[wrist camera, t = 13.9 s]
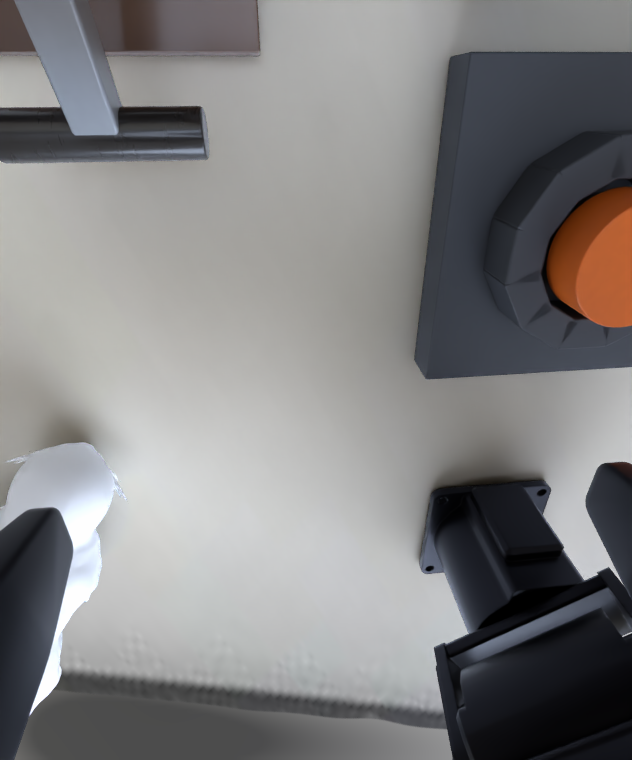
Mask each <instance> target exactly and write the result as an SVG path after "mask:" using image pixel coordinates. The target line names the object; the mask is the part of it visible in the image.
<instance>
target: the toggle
mask: <svg viewBox="0 0 632 760" xmlns="http://www.w3.org/2000/svg"><path fill="white" fill-rule="evenodd" d="M14 1H15V4H16V6H17V8H18V10H19V13H20V15H21V17H22V20H23V22H24V24H25V26H26V29H27V31H28V33H29V35H30V38H31V40H32V42H33V45H34V47H35V49H36V51H37V54H38V56H39V58H40V61H41V63H42V65H43V67H44V70H45V72H46V74H47V76H48V79H49V81H50V83H51V86H52V88H53V90H54V92H55V95H56V97H57V99H58V101H59V104H60V106H61V107H11V108H0V161H1V162H3V163H7V164H8V163H65V162H123V161H180V160H207V159H208V158H209V139H208V129H207V122H206V116H205V112H204V109H203V107H201V106H146V107H122V105H121V101H120V98H119V95H118V92H117V89H116V86H115V83H114V80H113V77H112V73H111V70H110V67H109V64H108V61H107V58H106V55H105V52H104V49H103V45H102V42H101V39H100V36H99V33H98V30H97V27H96V24H95V21H94V17H93V14H92V11H91V8H90V5H89V2H88V0H14Z"/></svg>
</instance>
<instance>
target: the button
mask: <svg viewBox="0 0 632 760" xmlns="http://www.w3.org/2000/svg"><path fill="white" fill-rule="evenodd" d="M546 271H547V279H548V283H549V285H550V288H551V290H552V291H553V293H554V294H555V295H556V297H557V298H558V299H560V300H561V301H562V302H564V303H565V304H567V305H568V306H570V307H571V308H573V309H574V310H576V311H577V312H579V313H580V314H582V315H583V316H585V317H586V318H588V319H589V320H591V321H593V322H595V323H597V324H599V325H602V326H606V327H627V326H632V187H618V188H613V189H610V190H607V191H604V192H601V193H599V194H597V195H595V196H593V197H592V198H590V199H589V200H587V201H585V202H584V203H583V204H582V205H580V206H579V207H578V208H577V209H576V210H575V211H573V212H572V213H571V214H570V216H569V217H568V218H567V219H566V220H565V221H564V223H563V224H562V226H561V227H560V228H559V230H558V232H557V233H556V235H555V237H554V239H553V241H552V244H551V246H550V249H549V253H548V257H547V265H546Z"/></svg>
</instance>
